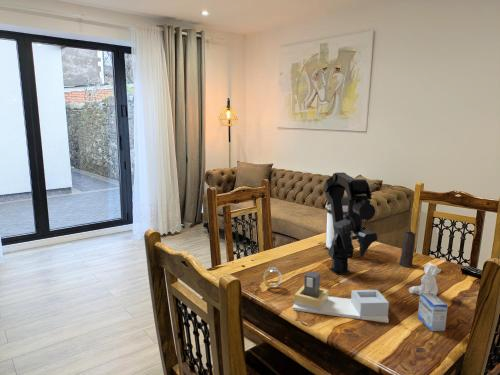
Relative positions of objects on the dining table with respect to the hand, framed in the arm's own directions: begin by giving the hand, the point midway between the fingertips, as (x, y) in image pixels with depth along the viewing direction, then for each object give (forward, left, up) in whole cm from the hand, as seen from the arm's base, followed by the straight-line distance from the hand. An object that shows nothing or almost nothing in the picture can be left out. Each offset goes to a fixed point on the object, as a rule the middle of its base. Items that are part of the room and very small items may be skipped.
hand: (353, 252), depth 138 cm
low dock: (+7, -22, -13) cm, 27 cm away
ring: (-10, -29, -13) cm, 33 cm away
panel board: (+13, -15, -13) cm, 24 cm away
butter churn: (-6, +35, -13) cm, 38 cm away
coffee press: (-34, +20, -13) cm, 42 cm away
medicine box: (+32, +5, -13) cm, 35 cm away
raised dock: (+18, -8, -13) cm, 24 cm away
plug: (+7, -22, -11) cm, 26 cm away
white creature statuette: (+17, +20, -13) cm, 29 cm away
